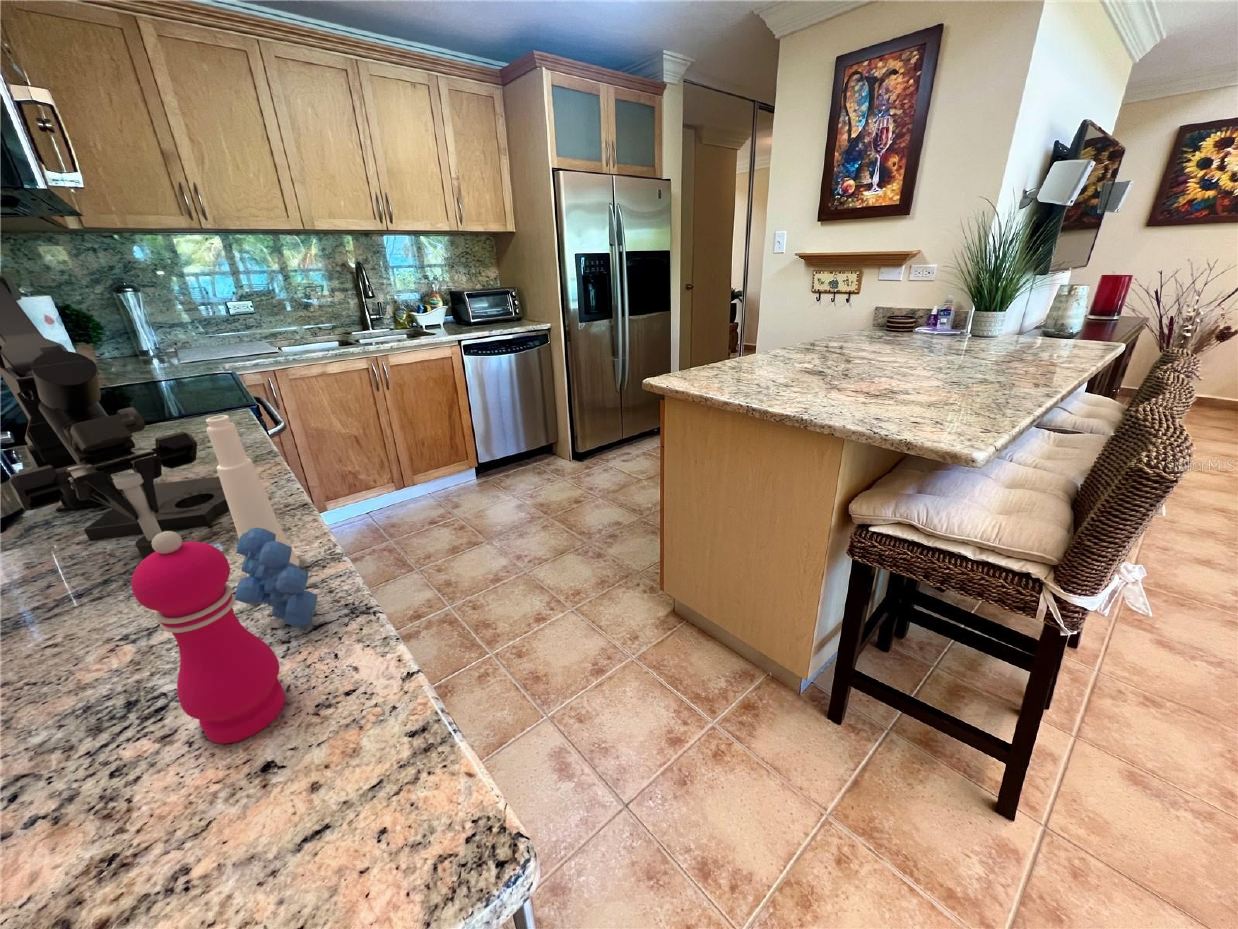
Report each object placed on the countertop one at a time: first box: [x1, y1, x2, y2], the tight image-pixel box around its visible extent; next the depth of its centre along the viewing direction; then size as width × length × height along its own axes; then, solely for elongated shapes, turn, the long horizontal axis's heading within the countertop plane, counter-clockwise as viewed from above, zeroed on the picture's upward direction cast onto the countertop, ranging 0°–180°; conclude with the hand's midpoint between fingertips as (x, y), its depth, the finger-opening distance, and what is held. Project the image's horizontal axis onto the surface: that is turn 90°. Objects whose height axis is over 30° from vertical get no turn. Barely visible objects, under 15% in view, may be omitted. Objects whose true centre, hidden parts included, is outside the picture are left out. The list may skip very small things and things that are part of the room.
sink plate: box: [83, 476, 230, 541], centre depth 84 cm, size 17×16×2 cm
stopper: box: [113, 472, 176, 560], centre depth 70 cm, size 4×4×12 cm
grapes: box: [234, 528, 318, 629], centre depth 55 cm, size 12×7×12 cm, turn 58°
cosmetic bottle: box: [205, 414, 300, 577], centre depth 63 cm, size 6×6×22 cm
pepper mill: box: [130, 531, 286, 744], centre depth 42 cm, size 7×7×20 cm
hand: (147, 515), depth 69 cm, fingers closed on stopper, 2 cm apart
